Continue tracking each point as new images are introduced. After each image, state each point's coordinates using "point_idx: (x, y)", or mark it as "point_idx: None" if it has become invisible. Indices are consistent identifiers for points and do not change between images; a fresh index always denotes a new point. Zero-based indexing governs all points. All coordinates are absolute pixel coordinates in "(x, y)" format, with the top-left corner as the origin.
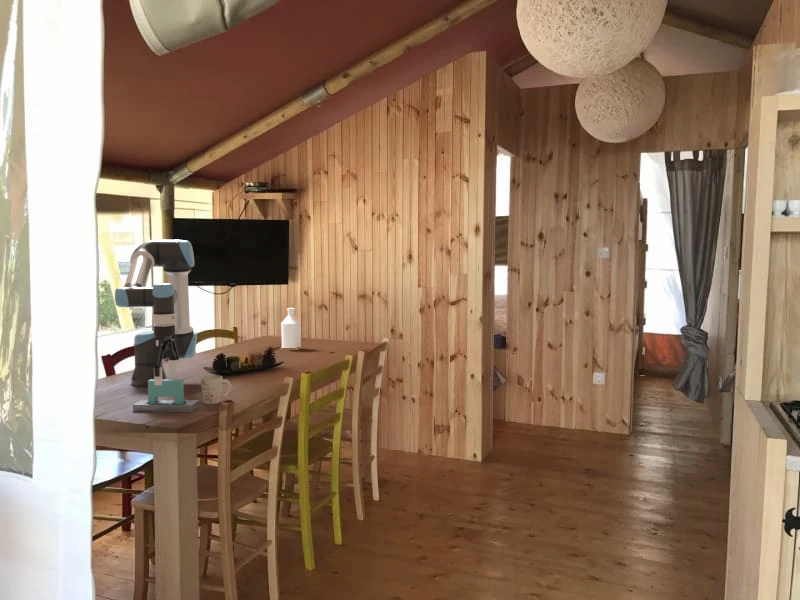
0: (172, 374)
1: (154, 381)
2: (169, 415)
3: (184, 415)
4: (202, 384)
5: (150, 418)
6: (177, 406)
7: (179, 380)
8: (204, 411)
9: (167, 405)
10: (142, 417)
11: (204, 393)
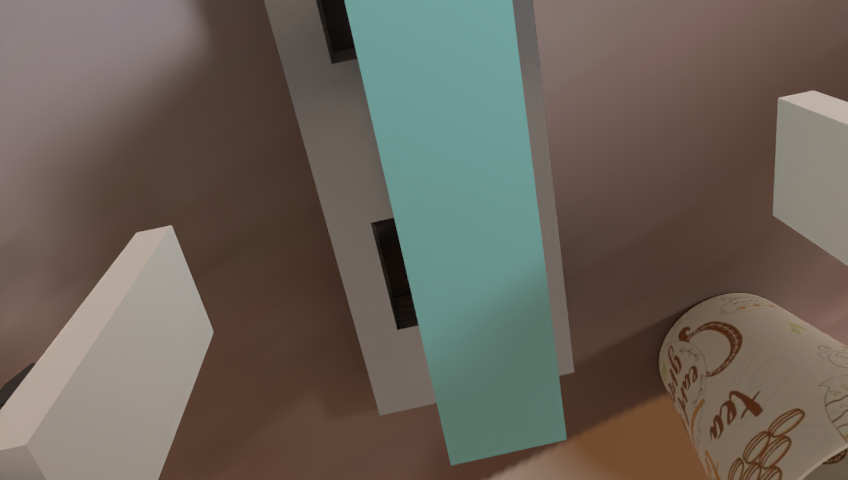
0: (807, 174)
1: (117, 264)
2: (214, 282)
3: (261, 389)
4: (753, 437)
5: (46, 188)
6: (349, 300)
7: (491, 432)
8: (423, 449)
9: (323, 213)
10: (38, 87)
11: (702, 387)
